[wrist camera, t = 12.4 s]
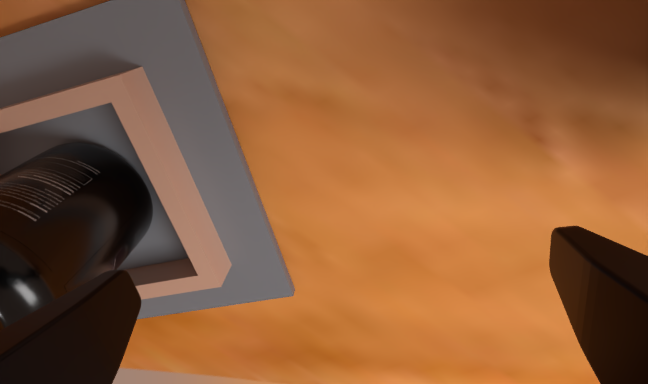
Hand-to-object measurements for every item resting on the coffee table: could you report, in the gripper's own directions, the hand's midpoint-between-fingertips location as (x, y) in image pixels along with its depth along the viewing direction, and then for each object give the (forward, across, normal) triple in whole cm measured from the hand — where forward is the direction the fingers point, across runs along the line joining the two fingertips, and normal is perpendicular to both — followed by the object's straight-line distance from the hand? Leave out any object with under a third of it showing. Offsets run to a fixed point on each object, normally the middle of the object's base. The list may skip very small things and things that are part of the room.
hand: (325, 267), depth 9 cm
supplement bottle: (+13, +15, +3) cm, 20 cm away
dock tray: (+13, +15, +3) cm, 20 cm away
